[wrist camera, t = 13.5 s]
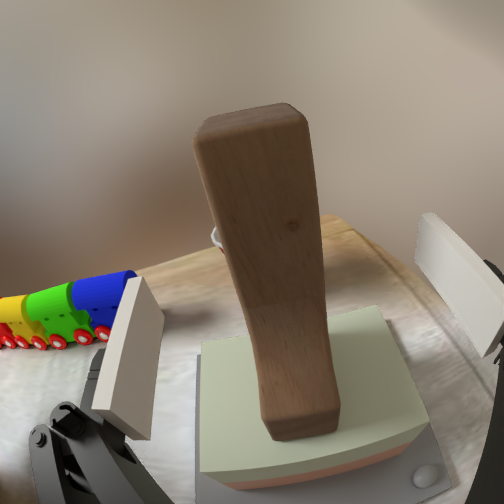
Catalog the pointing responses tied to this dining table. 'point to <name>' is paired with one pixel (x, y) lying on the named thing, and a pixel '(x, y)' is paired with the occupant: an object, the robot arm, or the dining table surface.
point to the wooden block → (274, 259)
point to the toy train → (63, 313)
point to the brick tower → (321, 446)
